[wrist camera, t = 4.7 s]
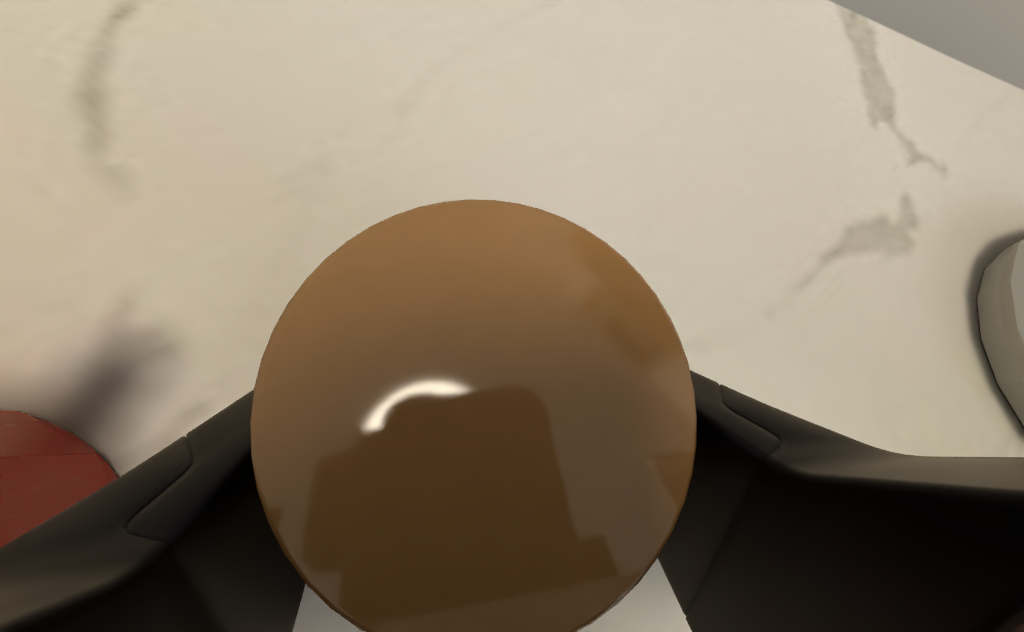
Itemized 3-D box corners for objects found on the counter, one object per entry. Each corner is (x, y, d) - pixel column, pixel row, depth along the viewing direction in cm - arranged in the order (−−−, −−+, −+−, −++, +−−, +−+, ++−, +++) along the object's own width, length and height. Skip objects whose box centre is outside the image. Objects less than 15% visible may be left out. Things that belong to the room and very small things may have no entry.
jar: (583, 382, 13) (747, 321, 6) (500, 558, 11) (598, 774, 4) (436, 296, 13) (425, 133, 6) (326, 456, 11) (120, 492, 4)
